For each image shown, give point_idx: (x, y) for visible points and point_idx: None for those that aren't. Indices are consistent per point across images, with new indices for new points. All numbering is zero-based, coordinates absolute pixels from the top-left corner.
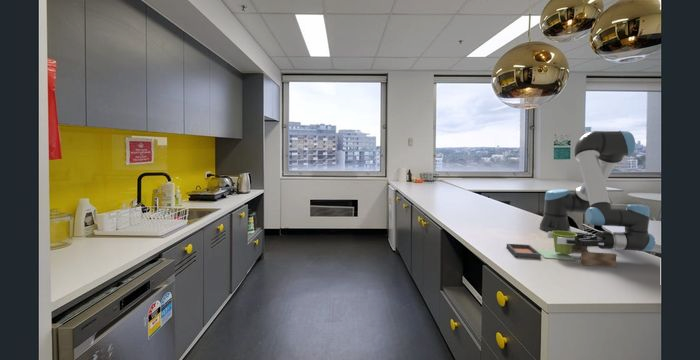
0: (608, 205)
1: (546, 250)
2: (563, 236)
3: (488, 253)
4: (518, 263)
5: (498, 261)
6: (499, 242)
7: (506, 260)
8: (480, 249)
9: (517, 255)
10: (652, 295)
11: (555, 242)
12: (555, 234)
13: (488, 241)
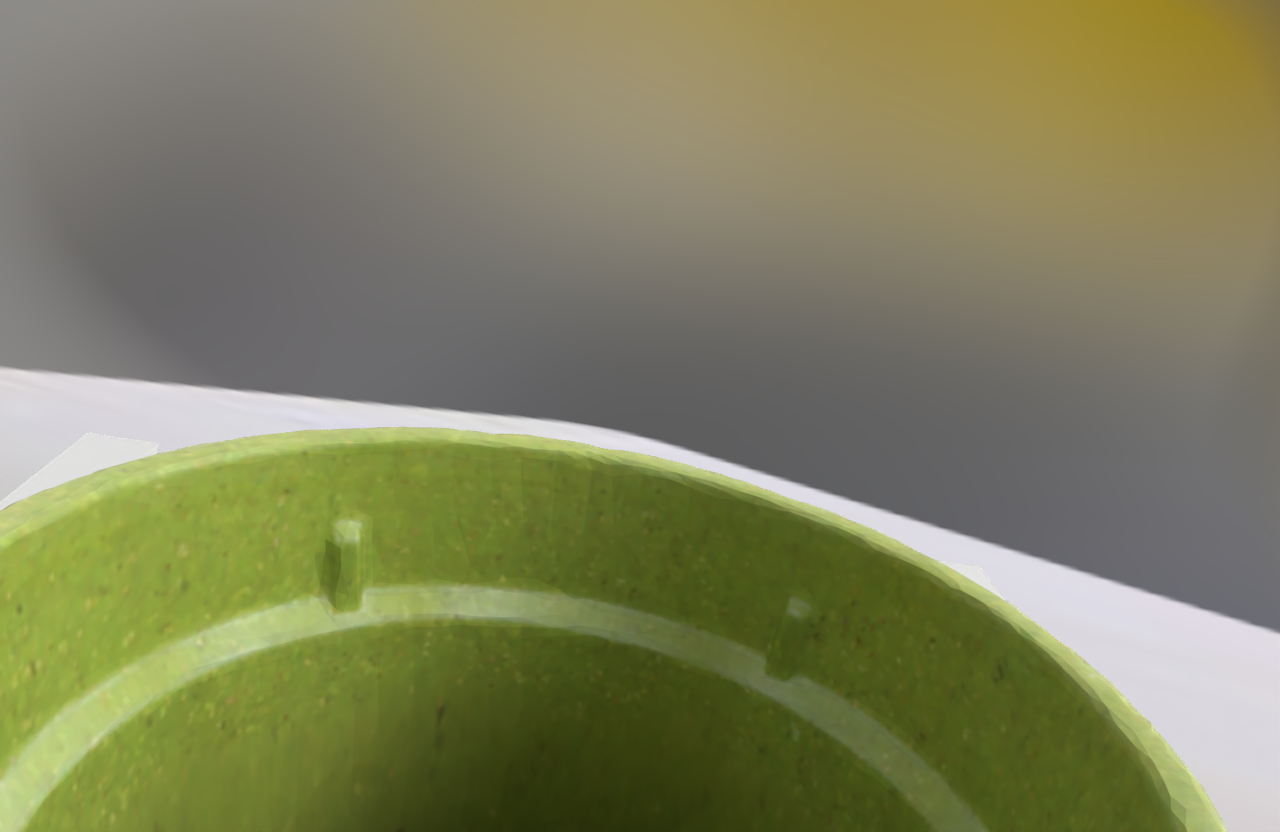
0: None
1: None
2: (121, 525)
3: (450, 428)
4: (9, 472)
5: (145, 397)
6: (1053, 633)
7: (165, 442)
8: (596, 431)
9: None
10: None
11: (454, 794)
12: (393, 443)
13: (1017, 564)
